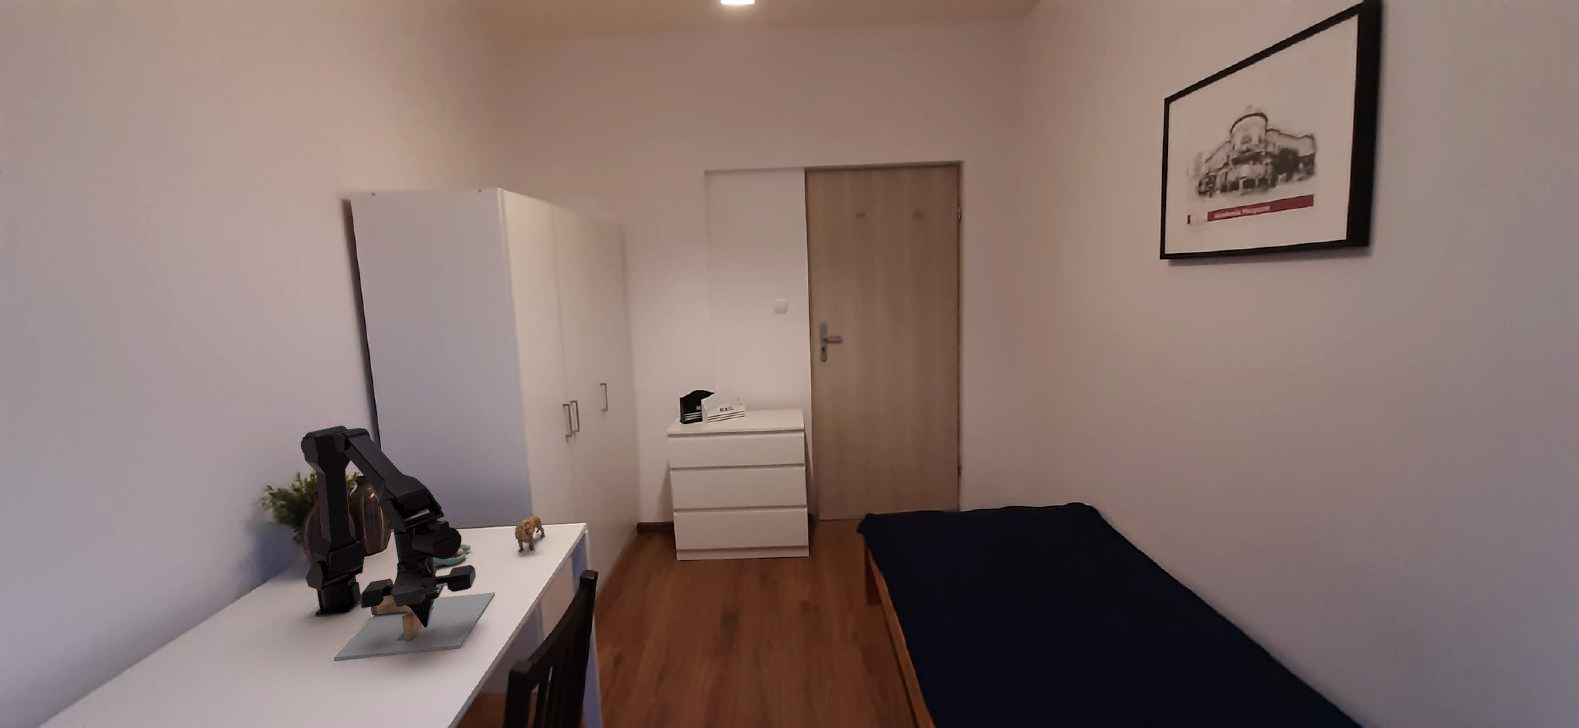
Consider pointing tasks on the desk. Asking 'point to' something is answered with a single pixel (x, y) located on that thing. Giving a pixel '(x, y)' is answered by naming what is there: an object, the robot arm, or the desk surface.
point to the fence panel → (410, 625)
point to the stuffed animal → (453, 560)
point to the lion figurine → (528, 531)
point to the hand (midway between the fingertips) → (426, 626)
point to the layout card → (419, 629)
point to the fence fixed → (388, 607)
